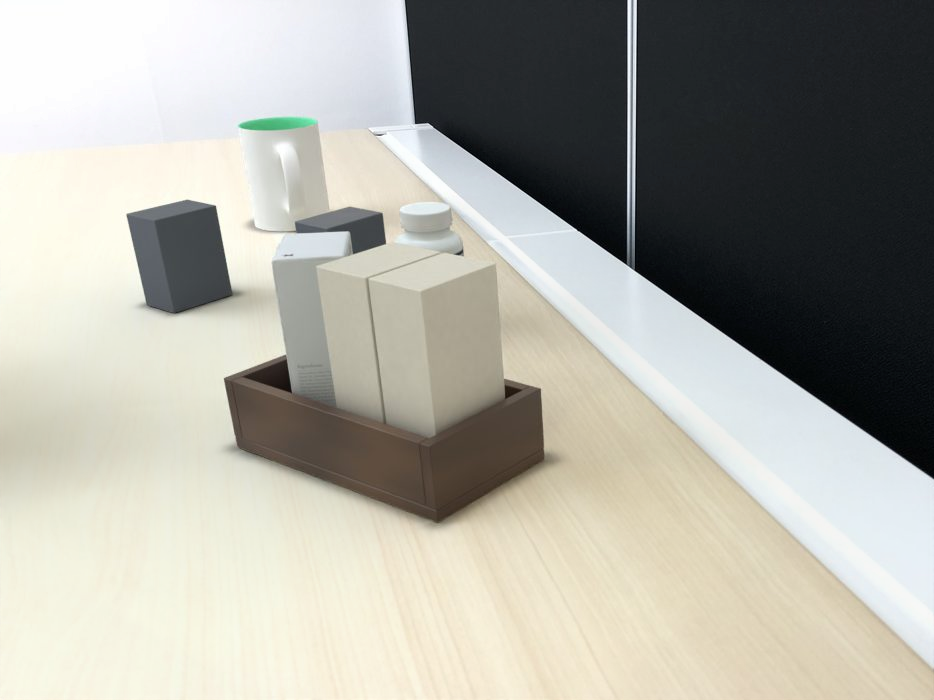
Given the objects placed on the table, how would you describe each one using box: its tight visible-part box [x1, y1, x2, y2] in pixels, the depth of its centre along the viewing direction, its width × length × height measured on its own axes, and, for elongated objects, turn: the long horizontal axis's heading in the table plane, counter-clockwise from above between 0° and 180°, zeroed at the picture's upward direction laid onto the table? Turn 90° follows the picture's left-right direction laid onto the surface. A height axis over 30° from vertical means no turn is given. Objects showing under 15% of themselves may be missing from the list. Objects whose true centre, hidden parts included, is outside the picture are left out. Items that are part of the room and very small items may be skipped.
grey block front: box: [295, 206, 387, 254], centre depth 92 cm, size 4×6×8 cm, turn 146°
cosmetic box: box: [271, 231, 353, 408], centre depth 69 cm, size 6×4×12 cm
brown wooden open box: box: [223, 354, 546, 523], centre depth 68 cm, size 18×10×5 cm, turn 56°
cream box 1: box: [316, 241, 441, 424], centre depth 66 cm, size 4×6×12 cm, turn 146°
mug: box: [237, 116, 331, 232], centre depth 117 cm, size 12×8×10 cm, turn 26°
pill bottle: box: [394, 201, 465, 257], centre depth 88 cm, size 5×5×10 cm
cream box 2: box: [368, 253, 505, 438], centre depth 64 cm, size 4×6×12 cm, turn 146°
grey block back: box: [125, 199, 233, 314], centre depth 95 cm, size 4×6×8 cm, turn 146°
